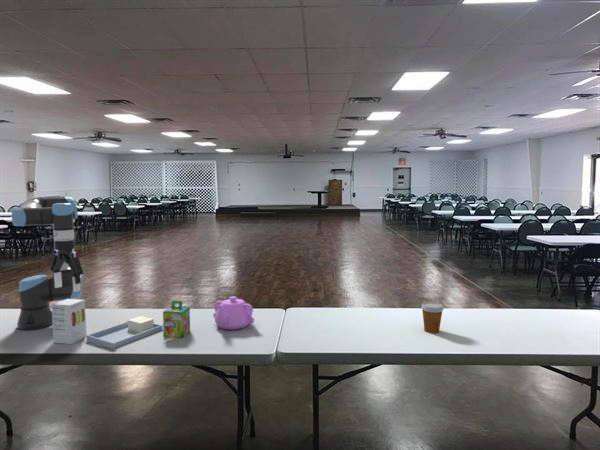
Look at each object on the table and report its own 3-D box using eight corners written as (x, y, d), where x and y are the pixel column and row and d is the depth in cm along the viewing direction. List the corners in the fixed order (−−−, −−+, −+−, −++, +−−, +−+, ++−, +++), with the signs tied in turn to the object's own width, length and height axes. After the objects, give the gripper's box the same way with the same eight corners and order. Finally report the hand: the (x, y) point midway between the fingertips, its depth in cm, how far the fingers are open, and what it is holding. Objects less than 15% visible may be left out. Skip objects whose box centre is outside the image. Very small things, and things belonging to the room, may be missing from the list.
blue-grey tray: (86, 341, 181) (86, 335, 181) (136, 324, 203) (136, 318, 203) (113, 349, 172) (113, 343, 172) (162, 330, 194) (162, 325, 193)
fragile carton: (128, 329, 194) (127, 320, 193) (140, 325, 200) (140, 315, 199) (141, 333, 189) (140, 323, 189) (153, 328, 195) (153, 318, 195)
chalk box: (163, 337, 185) (161, 304, 184) (171, 330, 194) (170, 298, 193) (183, 338, 184) (182, 304, 183) (190, 330, 194) (189, 299, 192)
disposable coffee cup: (444, 329, 193) (444, 303, 192) (441, 335, 185) (442, 309, 184) (422, 326, 197) (423, 300, 196) (419, 332, 189) (419, 306, 188)
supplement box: (71, 344, 178) (69, 305, 176) (52, 343, 180) (50, 304, 178) (87, 336, 187) (85, 299, 186) (69, 335, 189) (66, 298, 187)
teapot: (197, 331, 192) (196, 302, 191) (223, 317, 212) (222, 290, 211) (239, 338, 184) (239, 307, 182) (262, 322, 204) (262, 294, 203)
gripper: (39, 239, 182) (42, 287, 184) (73, 242, 170) (76, 294, 172) (56, 237, 189) (59, 283, 191) (90, 240, 176) (93, 290, 178)
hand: (67, 289), depth 181 cm, fingers open, 13 cm apart
